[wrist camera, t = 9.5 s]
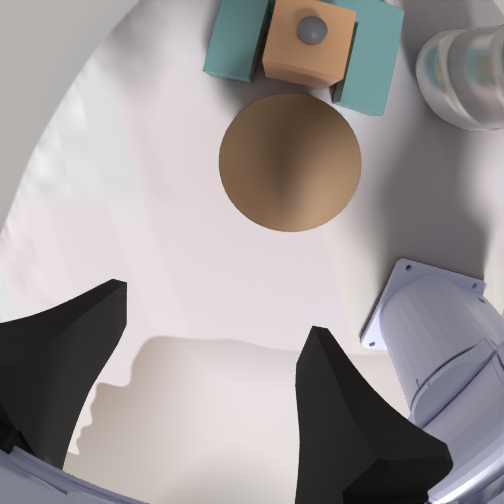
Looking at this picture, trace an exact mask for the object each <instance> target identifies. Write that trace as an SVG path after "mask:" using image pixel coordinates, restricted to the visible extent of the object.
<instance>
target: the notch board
mask: <svg viewBox="0 0 504 504" xmlns="http://www.w3.org/2000/svg"><path fill="white" fill-rule="evenodd" d="M317 1H321V2H325V3H329V4H332V5H336V6H339V7H343V8H346V9H349V10H353V11H356V17H355V23H354V28H353V33H352V38H351V43H350V48H349V52H348V57H347V62H346V67H345V71H344V76H343V79H342V80H340V81H338V82H337V86H336V90H335V94H334V98H333V102H332V103H333V104H336V105H339V106H343V107H346V108H349V109H352V110H355V111H358V112H361V113H364V114H367V115H370V116H383V112H384V108H385V104H386V100H387V96H388V92H389V87H390V83H391V79H392V74H393V70H394V65H395V60H396V55H397V51H398V46H399V40H400V35H401V30H402V24H403V18H404V12H405V11H404V10H402V9H400V8H397V7H395V6H392V5H390V4H388V3H385V2H382V1H380V0H317ZM275 4H276V0H221V3H220V6H219V10H218V14H217V17H216V21H215V24H214V28H213V32H212V36H211V39H210V43H209V47H208V51H207V55H206V59H205V63H204V68H203V71H204V72H206V73H207V74H209V75H210V76H214V77H220V78H226V79H232V80H237V81H243V82H248V83H252V79H253V75H254V71H255V67H256V63H257V59H258V55H259V51H260V47H261V43H262V39H263V35H264V31H265V27H266V23H267V20H268V16H269V12H271V13H273V12H274V8H275Z"/></svg>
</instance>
